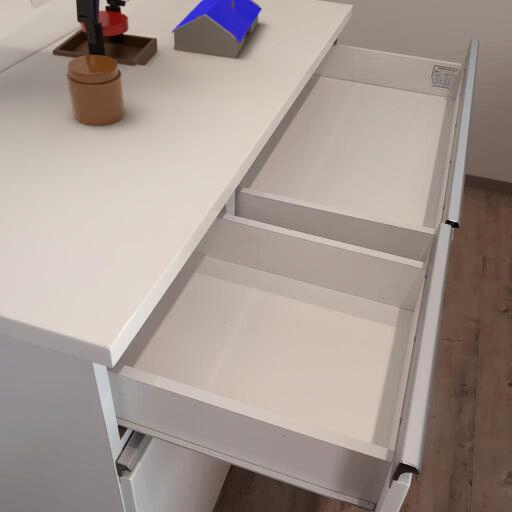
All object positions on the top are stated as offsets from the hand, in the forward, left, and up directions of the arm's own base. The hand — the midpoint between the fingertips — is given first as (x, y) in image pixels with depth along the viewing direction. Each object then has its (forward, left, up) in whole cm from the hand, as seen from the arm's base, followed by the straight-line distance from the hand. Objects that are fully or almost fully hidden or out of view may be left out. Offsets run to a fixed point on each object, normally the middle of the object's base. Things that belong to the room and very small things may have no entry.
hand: (107, 50), depth 102 cm
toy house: (+17, +19, -2) cm, 25 cm away
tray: (0, 0, -1) cm, 1 cm away
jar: (+9, -25, -1) cm, 27 cm away
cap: (0, 0, +5) cm, 5 cm away
